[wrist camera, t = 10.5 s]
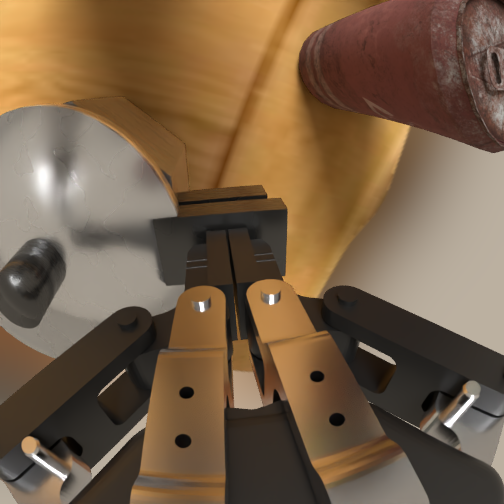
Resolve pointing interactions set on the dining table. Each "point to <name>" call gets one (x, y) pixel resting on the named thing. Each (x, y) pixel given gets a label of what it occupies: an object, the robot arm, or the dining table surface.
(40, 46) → the dining table surface
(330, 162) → the dining table surface
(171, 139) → the pot
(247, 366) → the dining table surface
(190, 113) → the dining table surface
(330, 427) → the robot arm
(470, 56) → the can
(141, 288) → the lid
